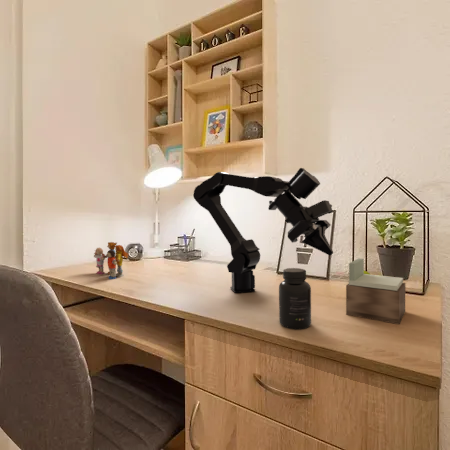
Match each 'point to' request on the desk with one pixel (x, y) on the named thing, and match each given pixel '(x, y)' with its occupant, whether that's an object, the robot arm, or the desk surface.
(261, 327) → the desk surface
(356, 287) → the pencil box
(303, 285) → the supplement bottle
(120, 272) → the doll family
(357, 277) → the lid
